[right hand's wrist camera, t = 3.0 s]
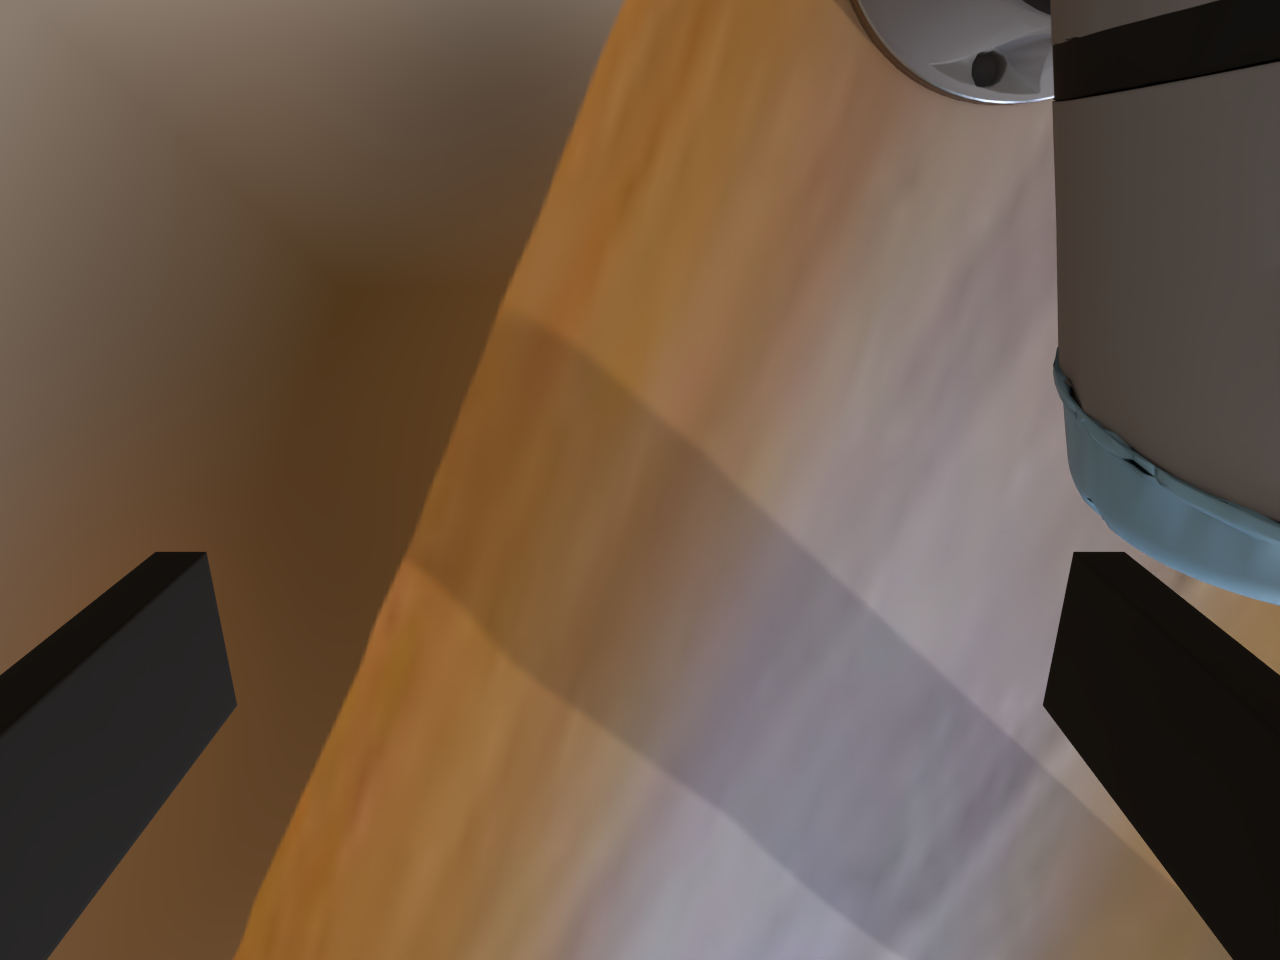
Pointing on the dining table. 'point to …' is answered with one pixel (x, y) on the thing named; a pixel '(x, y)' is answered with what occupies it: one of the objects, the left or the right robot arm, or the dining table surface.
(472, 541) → the dining table surface
